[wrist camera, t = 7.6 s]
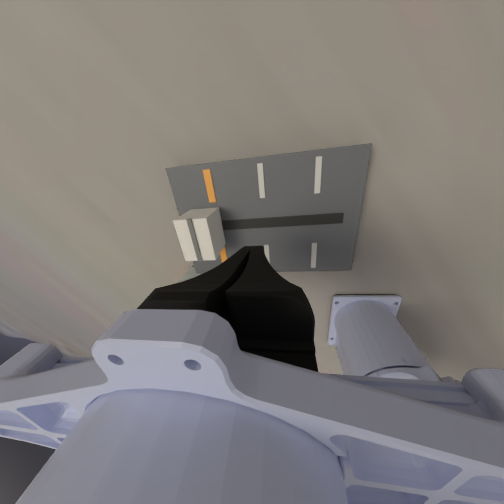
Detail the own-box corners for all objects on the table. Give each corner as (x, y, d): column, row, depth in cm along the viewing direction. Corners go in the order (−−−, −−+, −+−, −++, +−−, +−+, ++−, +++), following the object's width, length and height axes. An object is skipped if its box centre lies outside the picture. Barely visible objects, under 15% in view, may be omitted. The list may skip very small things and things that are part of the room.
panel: (345, 261, 22) (351, 270, 20) (202, 264, 25) (196, 273, 23) (361, 144, 16) (372, 143, 14) (176, 167, 19) (164, 168, 17)
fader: (225, 243, 20) (215, 261, 17) (200, 245, 21) (185, 262, 17) (218, 206, 18) (205, 218, 15) (190, 208, 19) (171, 220, 15)
